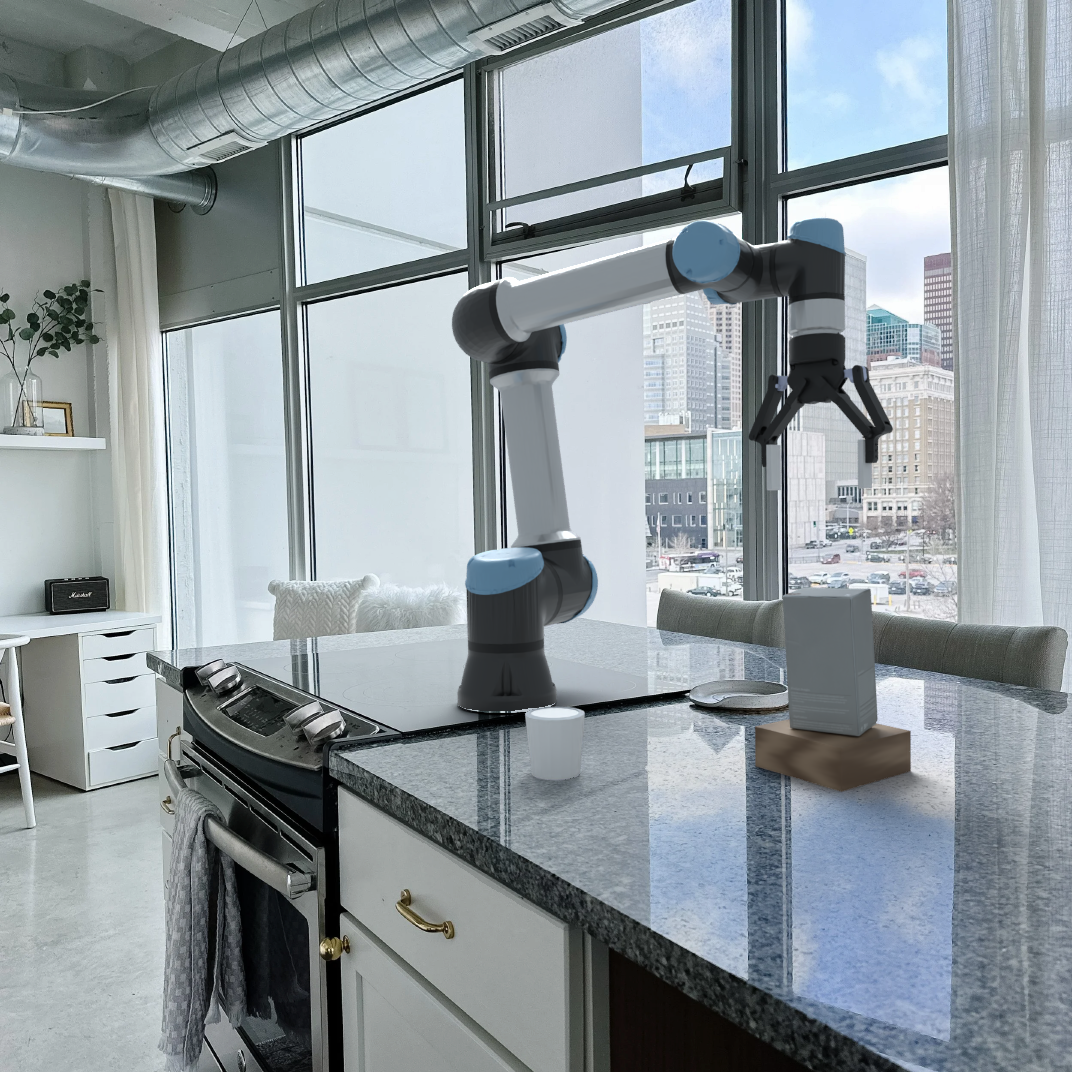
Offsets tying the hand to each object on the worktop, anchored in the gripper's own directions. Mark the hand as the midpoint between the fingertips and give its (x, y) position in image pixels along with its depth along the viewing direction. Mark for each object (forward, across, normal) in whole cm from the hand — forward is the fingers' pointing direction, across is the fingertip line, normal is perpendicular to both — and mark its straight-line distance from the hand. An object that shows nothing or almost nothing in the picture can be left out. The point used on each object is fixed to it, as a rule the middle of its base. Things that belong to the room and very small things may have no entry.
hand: (817, 489), depth 132 cm
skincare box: (+27, -13, +23) cm, 38 cm away
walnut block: (+32, -13, +23) cm, 41 cm away
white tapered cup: (+32, +10, +44) cm, 55 cm away
